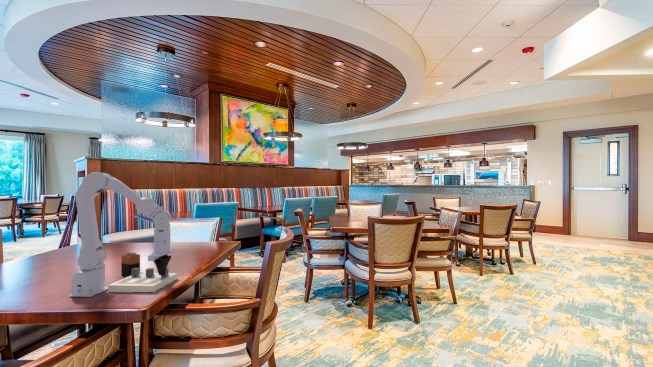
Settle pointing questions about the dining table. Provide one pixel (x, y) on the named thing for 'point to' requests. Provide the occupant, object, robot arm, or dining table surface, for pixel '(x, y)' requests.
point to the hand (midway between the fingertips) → (161, 274)
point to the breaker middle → (149, 272)
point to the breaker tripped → (166, 273)
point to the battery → (129, 263)
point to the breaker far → (135, 272)
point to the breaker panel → (142, 283)
